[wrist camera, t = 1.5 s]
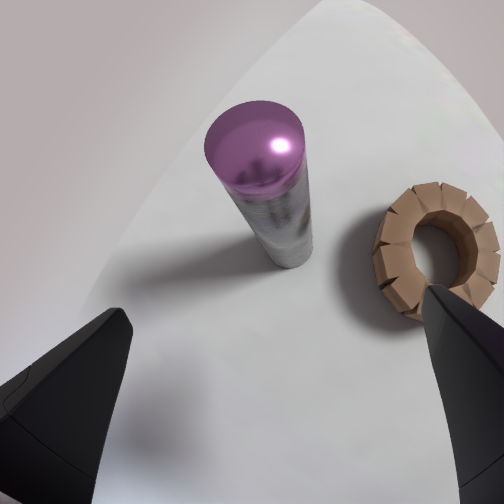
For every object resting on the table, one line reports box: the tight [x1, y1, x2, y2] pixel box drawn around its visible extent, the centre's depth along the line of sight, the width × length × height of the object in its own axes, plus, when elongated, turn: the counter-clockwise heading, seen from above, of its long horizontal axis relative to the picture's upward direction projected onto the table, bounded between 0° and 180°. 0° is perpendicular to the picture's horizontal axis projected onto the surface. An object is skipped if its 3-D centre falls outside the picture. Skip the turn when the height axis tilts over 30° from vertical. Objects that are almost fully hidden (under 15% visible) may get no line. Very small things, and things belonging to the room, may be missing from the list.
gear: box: [372, 182, 501, 322], centre depth 18 cm, size 9×9×3 cm
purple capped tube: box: [204, 101, 313, 268], centre depth 15 cm, size 3×3×13 cm
